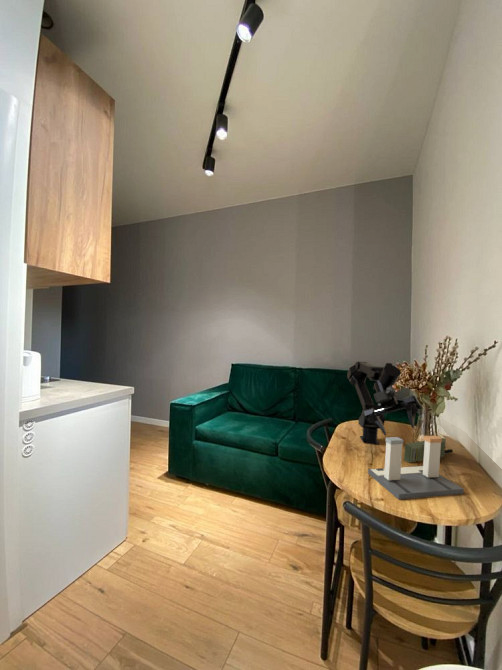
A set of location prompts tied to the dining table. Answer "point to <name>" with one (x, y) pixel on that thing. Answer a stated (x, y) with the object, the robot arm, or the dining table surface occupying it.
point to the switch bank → (415, 484)
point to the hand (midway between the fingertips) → (398, 431)
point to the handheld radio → (421, 451)
